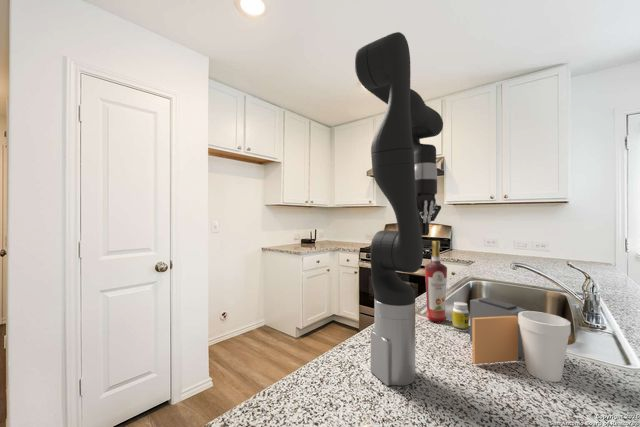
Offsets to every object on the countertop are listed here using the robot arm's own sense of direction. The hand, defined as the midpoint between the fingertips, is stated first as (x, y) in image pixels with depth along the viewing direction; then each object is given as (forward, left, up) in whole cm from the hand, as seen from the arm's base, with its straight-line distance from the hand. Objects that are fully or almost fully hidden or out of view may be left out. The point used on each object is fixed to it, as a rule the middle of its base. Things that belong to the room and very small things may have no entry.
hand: (424, 235), depth 84 cm
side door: (+4, -19, -30) cm, 36 cm away
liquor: (+14, +8, -31) cm, 35 cm away
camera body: (+13, -14, -31) cm, 36 cm away
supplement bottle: (+15, -1, -31) cm, 35 cm away
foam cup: (+10, -27, -31) cm, 42 cm away
